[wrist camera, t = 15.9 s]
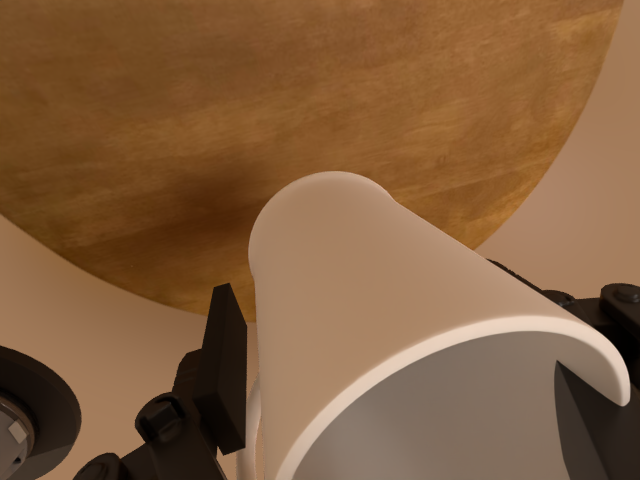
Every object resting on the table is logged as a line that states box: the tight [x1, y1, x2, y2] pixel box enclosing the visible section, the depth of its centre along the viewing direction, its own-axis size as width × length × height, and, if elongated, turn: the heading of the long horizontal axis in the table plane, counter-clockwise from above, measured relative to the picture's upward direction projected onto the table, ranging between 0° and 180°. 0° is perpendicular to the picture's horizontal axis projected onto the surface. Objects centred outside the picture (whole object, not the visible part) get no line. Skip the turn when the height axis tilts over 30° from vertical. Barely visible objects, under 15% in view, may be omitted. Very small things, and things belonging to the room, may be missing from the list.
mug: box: [236, 171, 630, 480], centre depth 12 cm, size 12×8×12 cm
